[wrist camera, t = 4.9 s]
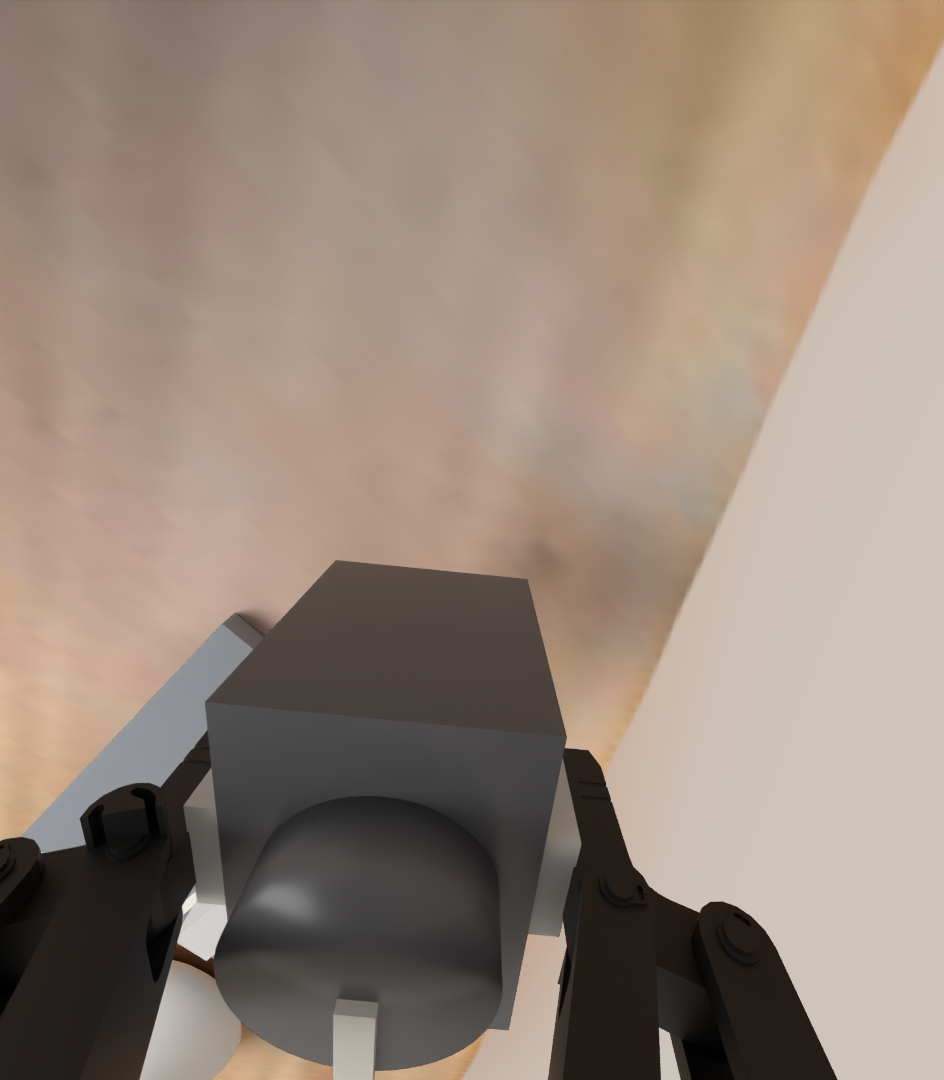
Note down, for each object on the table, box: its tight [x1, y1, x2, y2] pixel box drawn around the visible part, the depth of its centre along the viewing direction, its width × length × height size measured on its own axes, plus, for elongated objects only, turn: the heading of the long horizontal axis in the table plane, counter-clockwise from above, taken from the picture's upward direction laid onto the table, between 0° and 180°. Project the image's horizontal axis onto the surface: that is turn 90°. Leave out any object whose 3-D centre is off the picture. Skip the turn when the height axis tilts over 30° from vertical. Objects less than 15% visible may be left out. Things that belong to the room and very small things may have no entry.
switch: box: [21, 613, 264, 961], centre depth 24 cm, size 20×20×6 cm
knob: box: [205, 560, 567, 1080], centre depth 11 cm, size 8×6×9 cm
